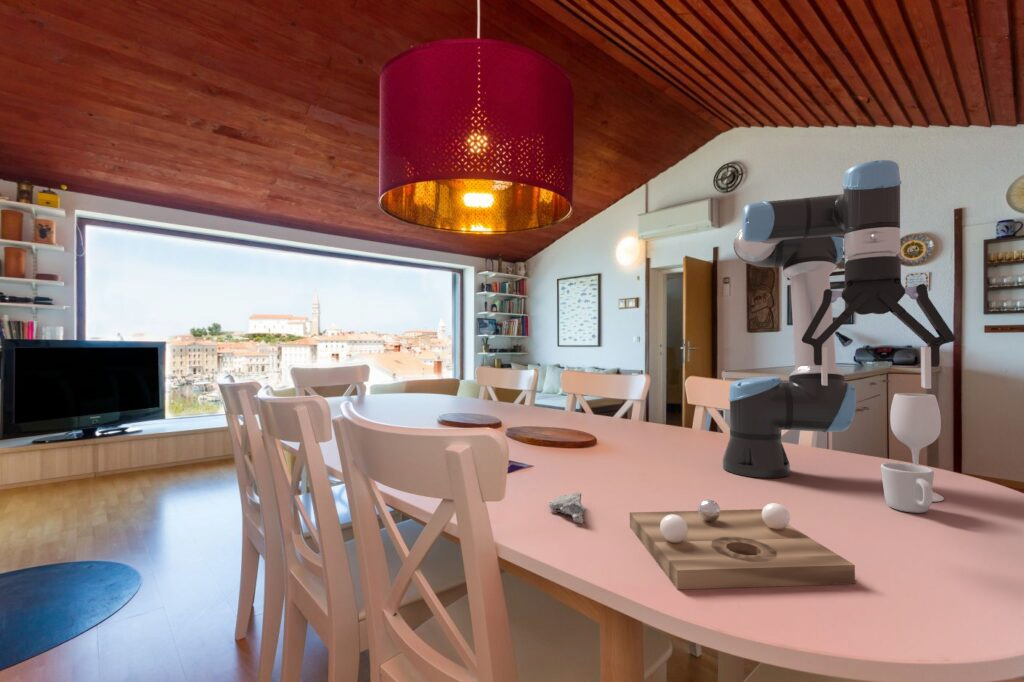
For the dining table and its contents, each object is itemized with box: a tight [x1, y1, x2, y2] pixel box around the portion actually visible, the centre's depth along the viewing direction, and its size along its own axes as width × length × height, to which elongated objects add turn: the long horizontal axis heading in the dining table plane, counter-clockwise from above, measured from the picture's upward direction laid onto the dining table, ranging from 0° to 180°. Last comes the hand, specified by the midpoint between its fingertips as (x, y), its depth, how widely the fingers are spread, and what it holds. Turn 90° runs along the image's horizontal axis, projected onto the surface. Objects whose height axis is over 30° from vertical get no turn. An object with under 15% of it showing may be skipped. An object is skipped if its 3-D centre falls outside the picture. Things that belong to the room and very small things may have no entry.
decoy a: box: [762, 502, 791, 530], centre depth 78 cm, size 4×4×4 cm
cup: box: [880, 462, 935, 514], centre depth 92 cm, size 11×8×8 cm
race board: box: [629, 508, 856, 590], centre depth 75 cm, size 22×24×2 cm
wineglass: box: [889, 392, 945, 503], centre depth 102 cm, size 9×9×21 cm
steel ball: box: [697, 499, 721, 522], centre depth 81 cm, size 4×4×4 cm
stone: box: [548, 492, 586, 524], centre depth 93 cm, size 6×12×4 cm, turn 177°
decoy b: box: [660, 514, 688, 543], centre depth 73 cm, size 4×4×4 cm
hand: (873, 386), depth 81 cm, fingers open, 13 cm apart
